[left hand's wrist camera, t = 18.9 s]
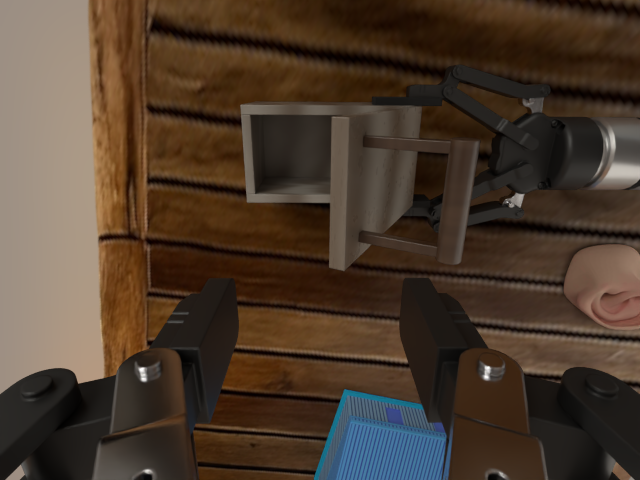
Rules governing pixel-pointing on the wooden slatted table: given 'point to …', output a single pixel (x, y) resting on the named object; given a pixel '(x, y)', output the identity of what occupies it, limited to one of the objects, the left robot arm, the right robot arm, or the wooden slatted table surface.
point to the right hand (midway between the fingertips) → (370, 153)
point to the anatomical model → (606, 285)
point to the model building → (381, 441)
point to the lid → (392, 184)
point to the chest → (292, 148)
